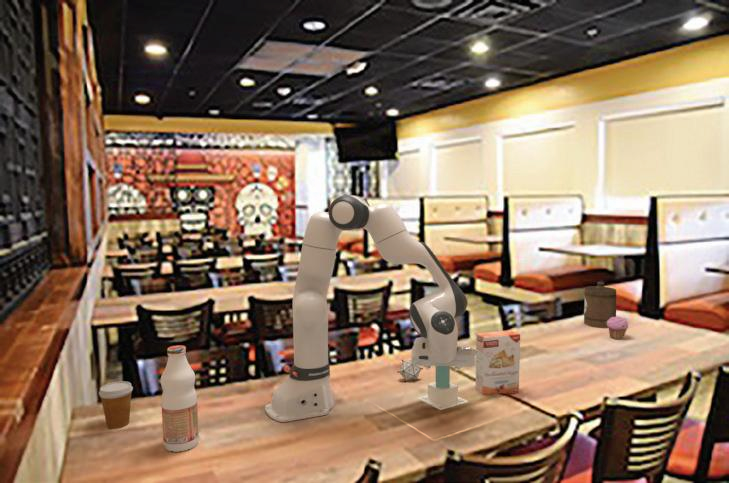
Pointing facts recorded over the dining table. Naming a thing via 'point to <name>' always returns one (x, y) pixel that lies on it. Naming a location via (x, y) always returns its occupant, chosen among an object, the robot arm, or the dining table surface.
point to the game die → (409, 371)
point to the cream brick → (442, 394)
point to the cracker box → (497, 362)
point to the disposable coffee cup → (116, 403)
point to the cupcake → (617, 327)
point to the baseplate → (441, 407)
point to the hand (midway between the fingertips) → (442, 368)
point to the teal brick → (443, 376)
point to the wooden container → (599, 305)
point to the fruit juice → (179, 402)
